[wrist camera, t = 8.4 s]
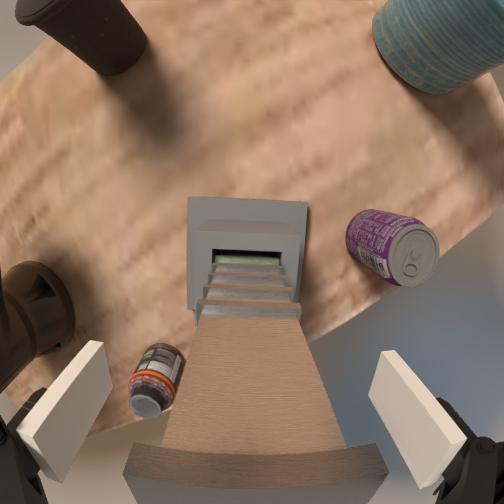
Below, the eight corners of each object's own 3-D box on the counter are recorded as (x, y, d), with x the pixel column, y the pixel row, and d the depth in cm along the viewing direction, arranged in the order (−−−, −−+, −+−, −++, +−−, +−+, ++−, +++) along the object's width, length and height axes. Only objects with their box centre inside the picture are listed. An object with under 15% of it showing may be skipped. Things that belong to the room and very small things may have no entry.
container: (160, 38, 30) (107, -51, 10) (118, 88, 31) (30, 27, 12) (120, 19, 29) (59, -56, 9) (81, 65, 30) (-4, 12, 10)
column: (214, 304, 28) (165, 548, 5) (216, 247, 27) (122, 473, 4) (273, 307, 28) (329, 548, 6) (277, 250, 27) (389, 472, 4)
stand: (189, 304, 38) (169, 351, 26) (190, 196, 35) (164, 201, 23) (295, 309, 38) (315, 356, 27) (305, 202, 35) (333, 209, 24)
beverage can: (380, 268, 38) (427, 298, 26) (336, 253, 37) (374, 282, 25) (397, 219, 36) (451, 233, 24) (353, 201, 36) (399, 208, 24)
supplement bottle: (172, 381, 41) (155, 432, 29) (139, 359, 40) (113, 406, 29) (192, 357, 40) (178, 408, 29) (157, 333, 39) (132, 380, 28)
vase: (458, 110, 33) (592, 83, 7) (369, 76, 32) (501, -19, 6) (449, 30, 29) (548, -24, 3) (366, -5, 28) (445, -106, 2)
